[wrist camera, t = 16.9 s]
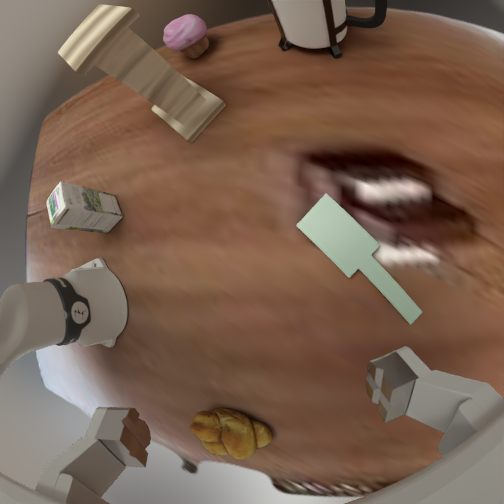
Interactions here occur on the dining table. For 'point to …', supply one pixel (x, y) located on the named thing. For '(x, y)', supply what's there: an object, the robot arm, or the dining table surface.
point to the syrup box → (82, 209)
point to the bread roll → (230, 433)
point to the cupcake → (187, 35)
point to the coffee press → (319, 22)
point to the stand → (139, 69)
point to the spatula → (353, 251)
